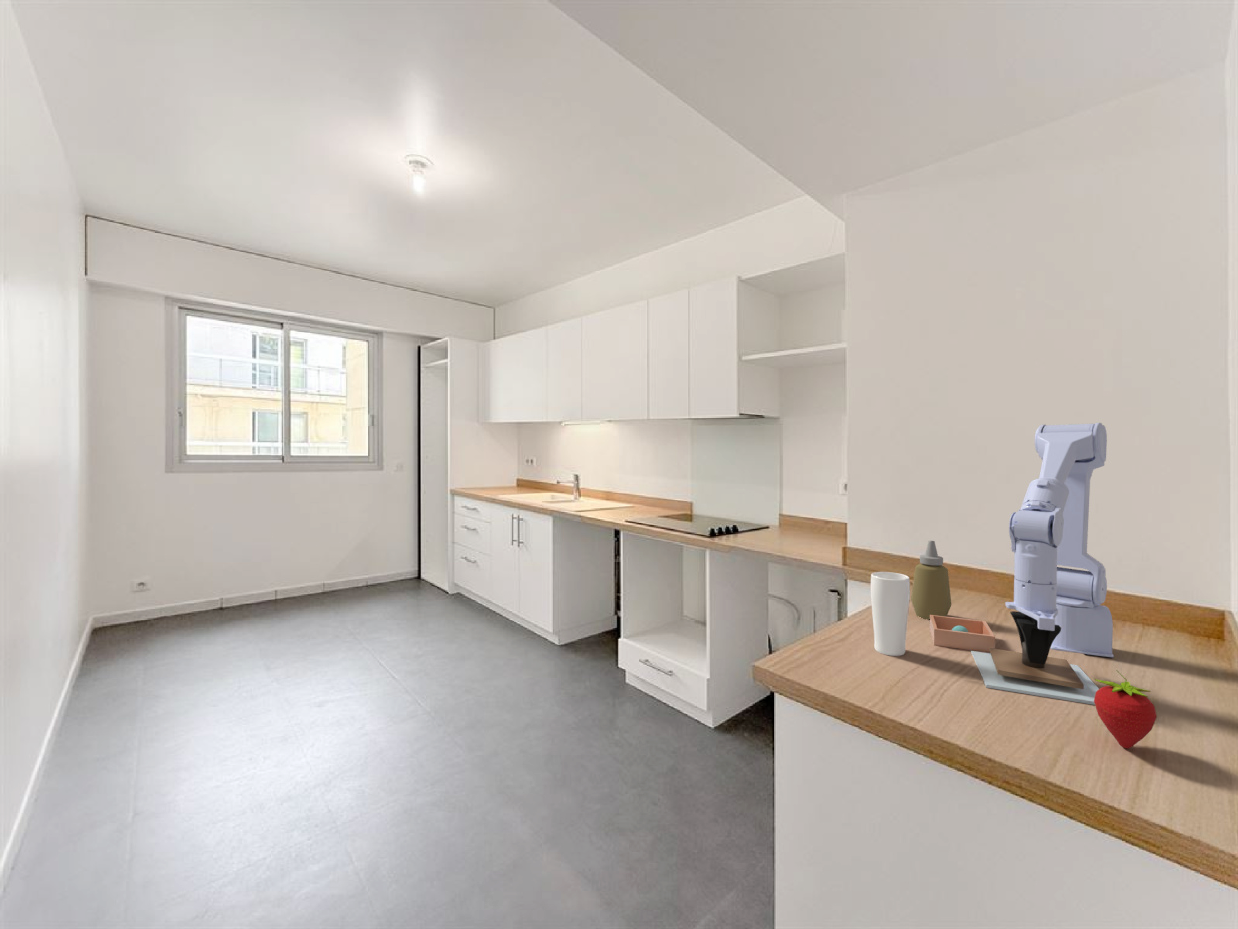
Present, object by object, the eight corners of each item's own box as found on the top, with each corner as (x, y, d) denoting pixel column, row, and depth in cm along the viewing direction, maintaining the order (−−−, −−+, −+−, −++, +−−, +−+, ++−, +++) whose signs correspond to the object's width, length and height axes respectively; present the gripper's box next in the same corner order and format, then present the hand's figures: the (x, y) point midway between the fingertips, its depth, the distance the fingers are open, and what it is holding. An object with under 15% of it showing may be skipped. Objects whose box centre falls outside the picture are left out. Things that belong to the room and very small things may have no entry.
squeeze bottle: (951, 616, 123) (952, 539, 122) (951, 626, 116) (952, 545, 115) (911, 610, 127) (912, 537, 127) (909, 619, 120) (910, 542, 120)
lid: (1066, 664, 92) (1066, 640, 92) (1083, 689, 82) (1084, 662, 82) (990, 652, 97) (990, 629, 97) (997, 674, 88) (998, 649, 88)
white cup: (914, 660, 97) (915, 580, 97) (875, 658, 99) (876, 579, 98) (902, 647, 104) (903, 572, 104) (866, 644, 105) (866, 571, 105)
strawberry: (1094, 751, 68) (1095, 676, 68) (1092, 728, 74) (1093, 658, 73) (1159, 769, 64) (1161, 689, 64) (1151, 743, 70) (1153, 669, 69)
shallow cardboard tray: (985, 637, 109) (985, 621, 109) (994, 654, 100) (995, 636, 100) (929, 630, 113) (929, 614, 113) (934, 646, 104) (934, 629, 104)
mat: (1077, 668, 93) (1077, 665, 93) (1113, 708, 79) (1113, 704, 79) (970, 653, 101) (970, 650, 101) (986, 687, 86) (986, 684, 86)
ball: (967, 639, 107) (967, 624, 107) (970, 644, 104) (970, 629, 104) (950, 637, 108) (950, 622, 108) (952, 641, 106) (952, 627, 106)
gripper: (997, 569, 98) (997, 641, 98) (1016, 588, 85) (1015, 671, 85) (1045, 573, 95) (1044, 647, 95) (1071, 593, 82) (1070, 679, 82)
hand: (1033, 659), depth 90 cm, fingers closed on lid, 3 cm apart
